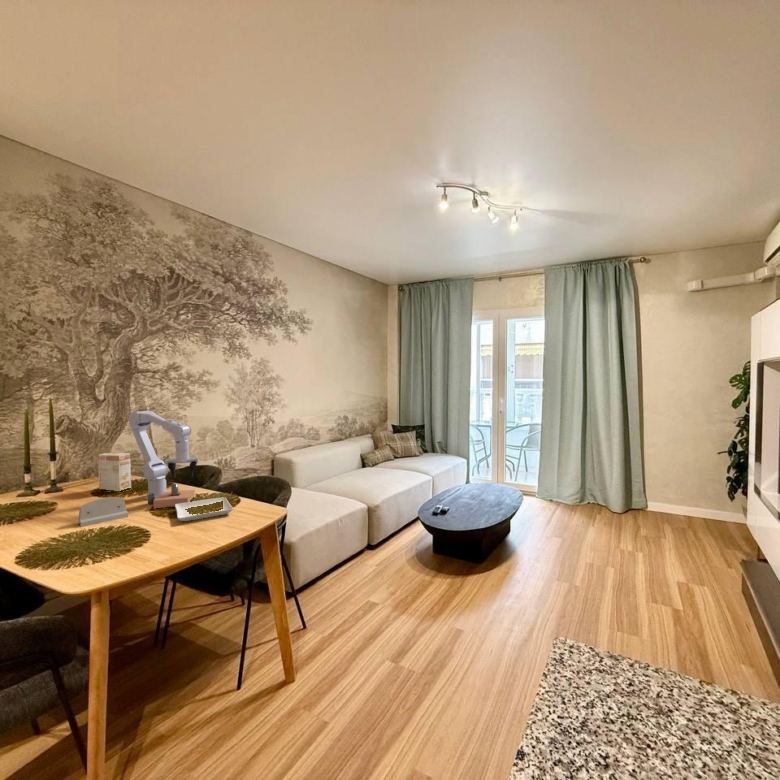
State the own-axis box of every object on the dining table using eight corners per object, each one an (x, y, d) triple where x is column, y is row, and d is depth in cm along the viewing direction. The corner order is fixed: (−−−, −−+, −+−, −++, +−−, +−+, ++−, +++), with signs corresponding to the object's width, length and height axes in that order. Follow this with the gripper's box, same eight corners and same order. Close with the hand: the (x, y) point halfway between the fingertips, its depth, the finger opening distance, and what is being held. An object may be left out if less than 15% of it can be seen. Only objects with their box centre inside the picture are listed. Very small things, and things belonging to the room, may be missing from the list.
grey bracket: (79, 527, 156) (77, 502, 158) (78, 528, 159) (76, 503, 162) (129, 516, 168) (126, 493, 170) (126, 517, 171) (124, 494, 174)
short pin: (148, 502, 187) (148, 493, 187) (155, 502, 188) (155, 493, 188) (146, 504, 185) (146, 495, 184) (153, 504, 185) (153, 494, 185)
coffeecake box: (131, 489, 212) (130, 453, 212) (119, 492, 206) (118, 455, 205) (111, 487, 217) (110, 451, 217) (98, 490, 210) (97, 454, 210)
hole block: (163, 500, 191) (162, 492, 191) (194, 497, 195) (194, 489, 195) (153, 509, 178) (153, 500, 177) (187, 506, 181) (187, 497, 181)
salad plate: (234, 516, 168) (234, 508, 168) (177, 526, 157) (177, 517, 157) (225, 503, 186) (225, 496, 186) (174, 511, 175) (174, 503, 175)
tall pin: (172, 502, 187) (172, 483, 187) (179, 502, 188) (178, 483, 188) (170, 504, 184) (170, 485, 184) (177, 503, 185) (177, 484, 185)
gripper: (163, 452, 187) (164, 480, 187) (196, 450, 191) (197, 478, 191) (167, 449, 194) (168, 477, 194) (199, 448, 198) (200, 475, 198)
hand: (183, 477), depth 193 cm, fingers open, 7 cm apart
